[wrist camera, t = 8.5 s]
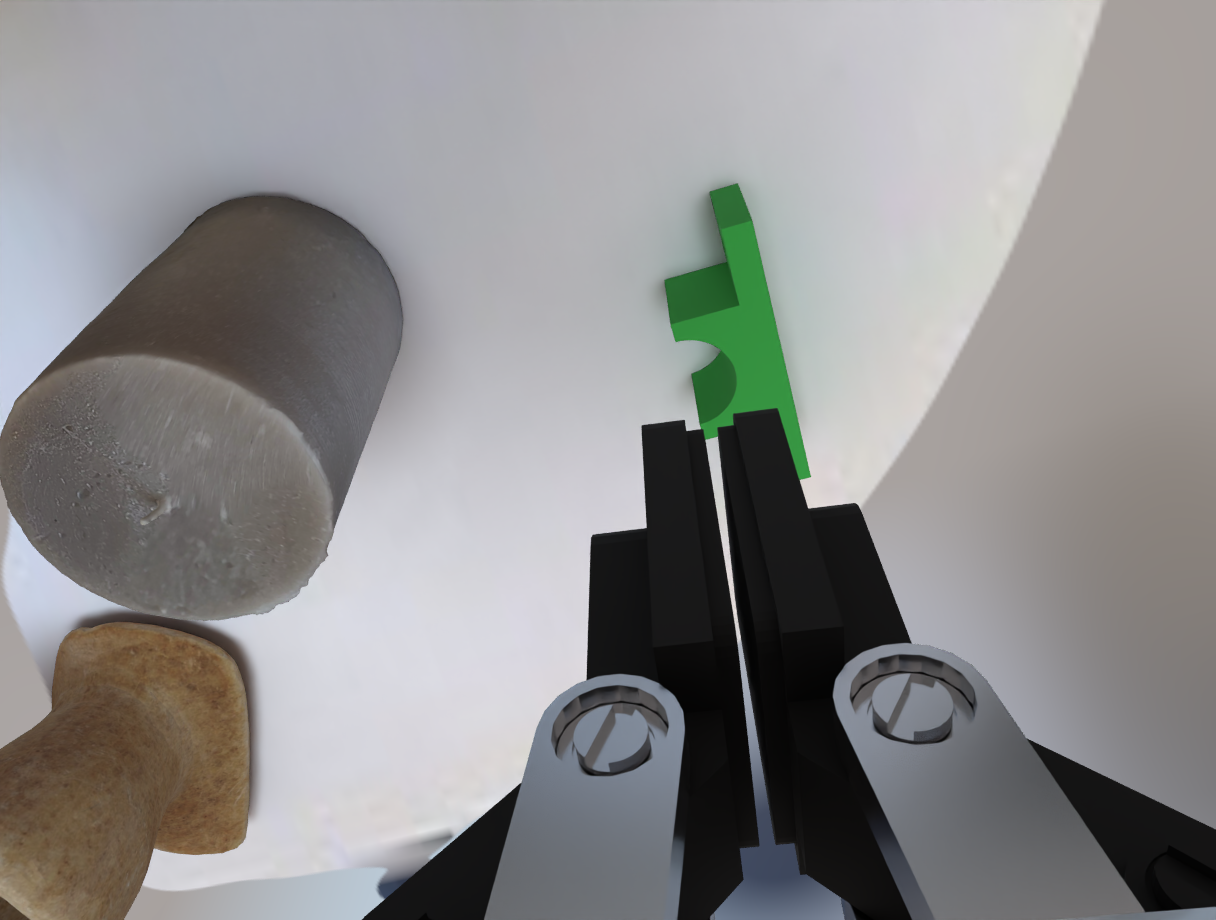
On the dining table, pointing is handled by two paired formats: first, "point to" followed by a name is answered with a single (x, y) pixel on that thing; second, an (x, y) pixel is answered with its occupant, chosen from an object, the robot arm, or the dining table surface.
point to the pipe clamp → (735, 330)
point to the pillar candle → (210, 415)
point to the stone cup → (122, 771)
